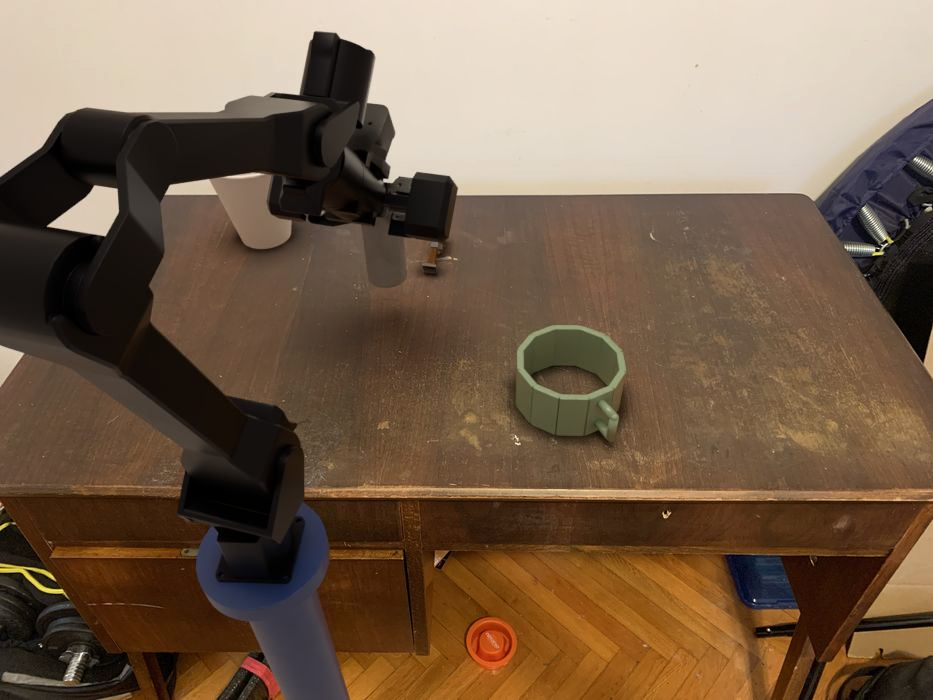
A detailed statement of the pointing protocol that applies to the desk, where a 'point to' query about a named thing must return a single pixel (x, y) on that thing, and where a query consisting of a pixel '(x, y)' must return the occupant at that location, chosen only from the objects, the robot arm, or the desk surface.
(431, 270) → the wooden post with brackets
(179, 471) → the desk surface
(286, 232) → the cup
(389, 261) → the grey hollow cylinder
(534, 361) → the mug
